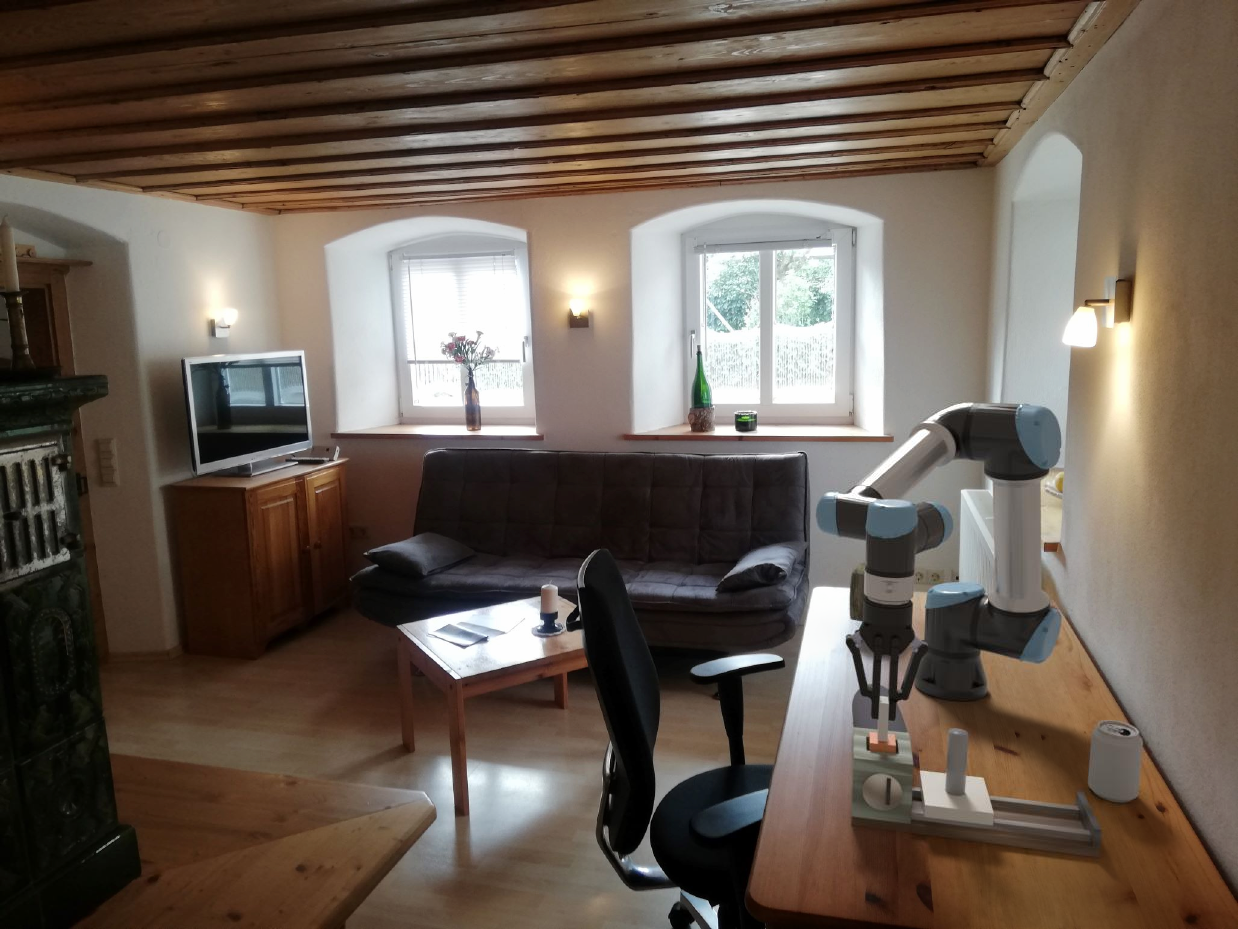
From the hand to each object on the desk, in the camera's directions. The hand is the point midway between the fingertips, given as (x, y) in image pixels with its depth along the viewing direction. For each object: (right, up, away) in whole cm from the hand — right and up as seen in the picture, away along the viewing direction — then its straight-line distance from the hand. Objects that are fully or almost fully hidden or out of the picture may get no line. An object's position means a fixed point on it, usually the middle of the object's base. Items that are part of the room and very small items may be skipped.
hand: (882, 737), depth 142 cm
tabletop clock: (+24, +1, +85) cm, 88 cm away
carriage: (+11, -10, -1) cm, 15 cm away
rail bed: (+13, -13, -1) cm, 19 cm away
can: (+41, -12, +7) cm, 43 cm away
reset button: (0, -3, +1) cm, 3 cm away
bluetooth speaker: (+6, -10, +20) cm, 23 cm away
